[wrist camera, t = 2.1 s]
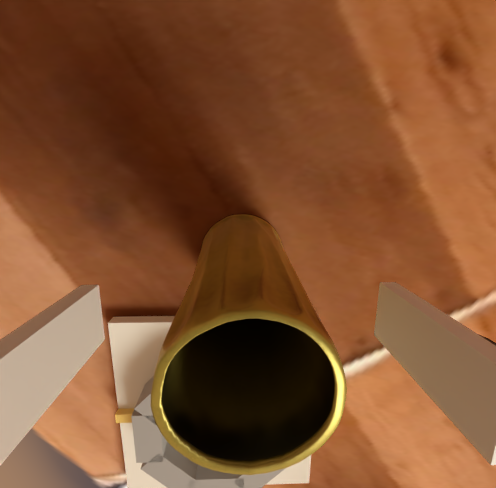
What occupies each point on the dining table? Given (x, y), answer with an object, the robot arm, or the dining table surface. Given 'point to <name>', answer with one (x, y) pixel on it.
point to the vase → (247, 359)
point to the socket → (144, 426)
